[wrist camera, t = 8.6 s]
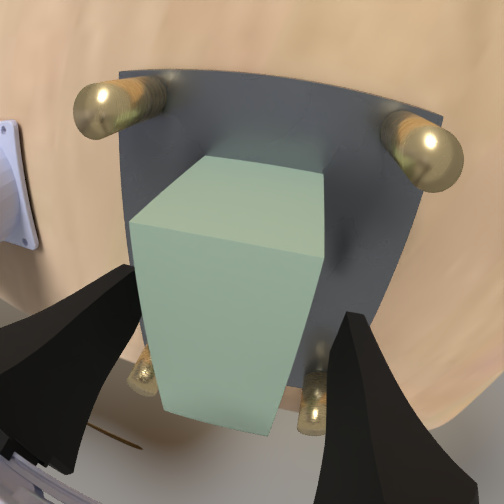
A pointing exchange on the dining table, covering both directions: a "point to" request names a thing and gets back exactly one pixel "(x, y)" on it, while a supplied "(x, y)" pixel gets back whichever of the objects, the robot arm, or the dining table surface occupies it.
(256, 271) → the board block
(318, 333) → the plate
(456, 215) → the dining table surface
